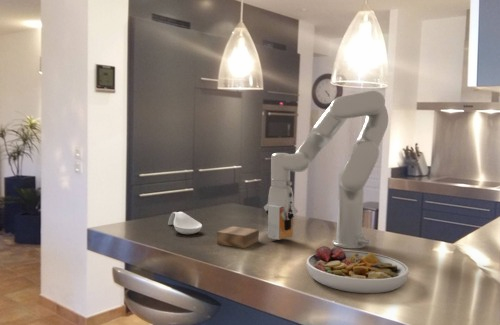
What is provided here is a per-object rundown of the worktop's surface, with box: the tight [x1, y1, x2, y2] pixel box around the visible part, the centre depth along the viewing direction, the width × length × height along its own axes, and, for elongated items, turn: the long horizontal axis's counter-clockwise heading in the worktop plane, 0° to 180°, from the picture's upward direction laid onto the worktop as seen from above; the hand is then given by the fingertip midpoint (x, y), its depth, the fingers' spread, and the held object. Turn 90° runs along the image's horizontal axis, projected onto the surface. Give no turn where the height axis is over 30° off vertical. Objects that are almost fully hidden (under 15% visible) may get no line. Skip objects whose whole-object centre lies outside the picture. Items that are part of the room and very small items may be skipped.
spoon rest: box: [167, 211, 203, 235], centre depth 201 cm, size 24×12×7 cm, turn 31°
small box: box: [267, 205, 293, 241], centre depth 187 cm, size 8×6×13 cm
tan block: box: [216, 225, 260, 249], centre depth 182 cm, size 12×12×5 cm
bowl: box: [306, 245, 410, 294], centre depth 142 cm, size 30×30×8 cm
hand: (280, 227), depth 187 cm, fingers closed on small box, 6 cm apart
